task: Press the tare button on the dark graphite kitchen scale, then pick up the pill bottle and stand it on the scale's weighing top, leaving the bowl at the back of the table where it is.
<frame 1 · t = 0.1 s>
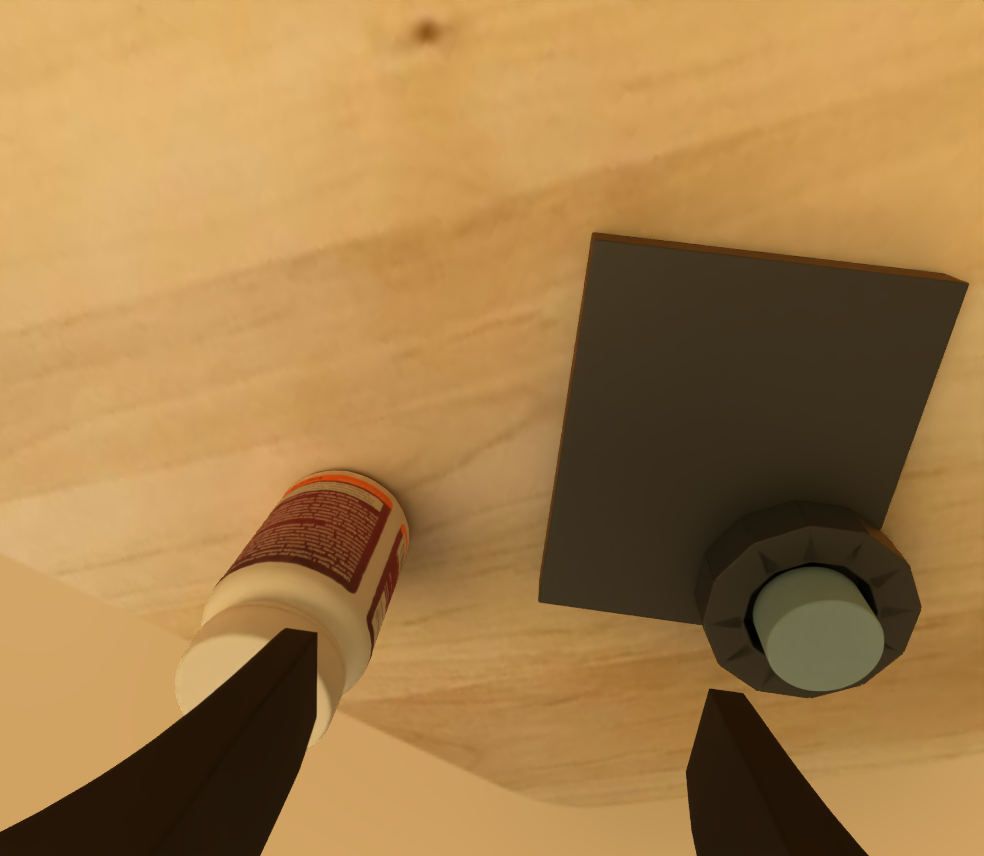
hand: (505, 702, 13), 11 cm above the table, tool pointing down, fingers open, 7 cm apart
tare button: (815, 628, 21), point 4 cm above the table, slide at 0.1 cm
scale: (719, 443, 23), on the table
pill bottle: (346, 524, 26), on the table
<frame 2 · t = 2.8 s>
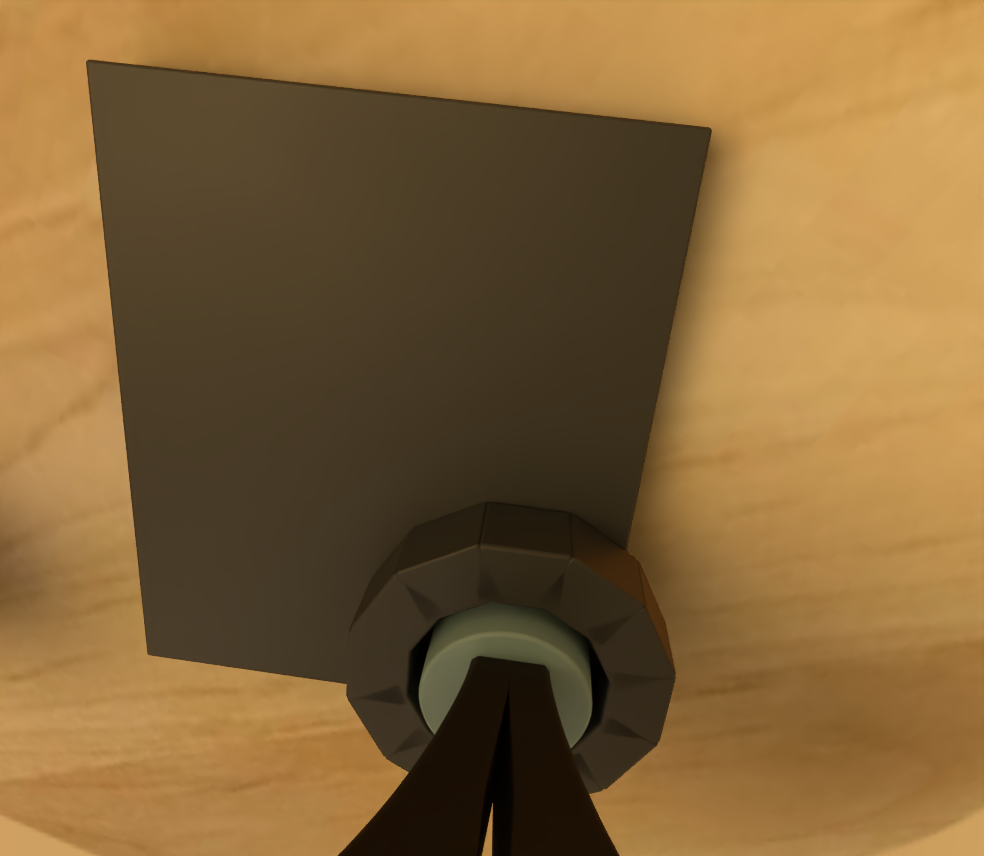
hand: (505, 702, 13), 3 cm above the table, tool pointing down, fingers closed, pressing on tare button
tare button: (507, 671, 14), point 3 cm above the table, slide at -0.8 cm, touching gripper
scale: (393, 413, 15), on the table
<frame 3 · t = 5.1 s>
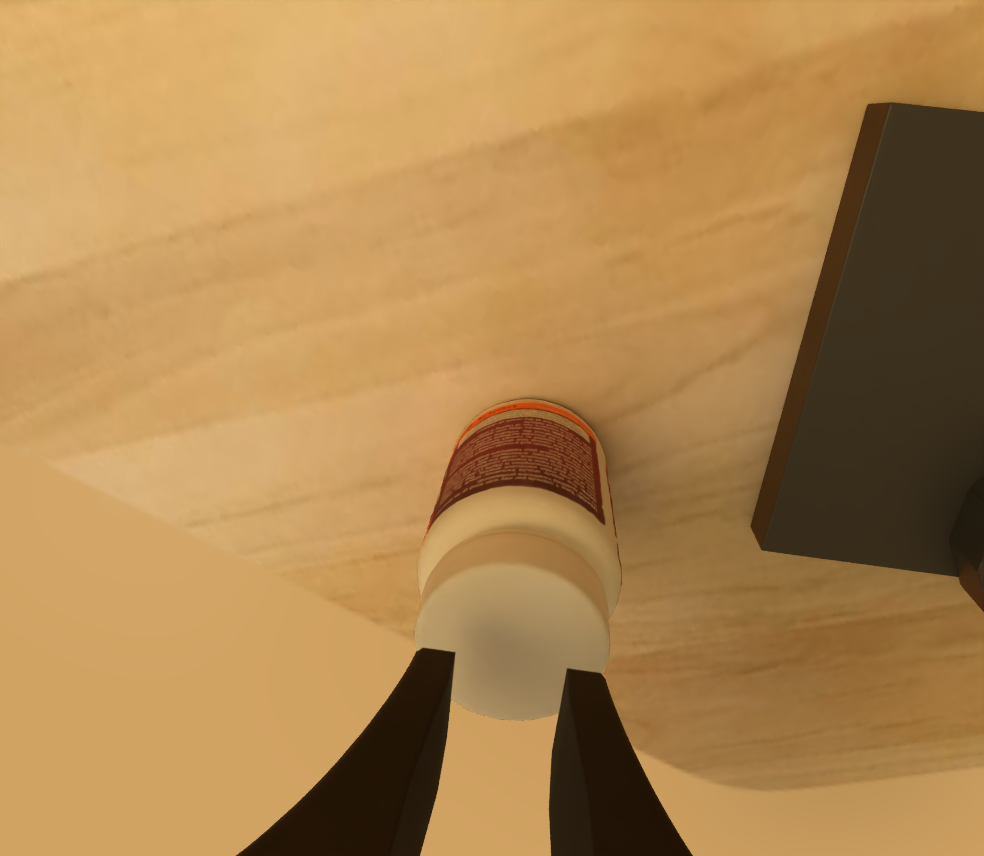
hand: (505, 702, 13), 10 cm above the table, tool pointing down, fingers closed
pill bottle: (528, 465, 23), on the table
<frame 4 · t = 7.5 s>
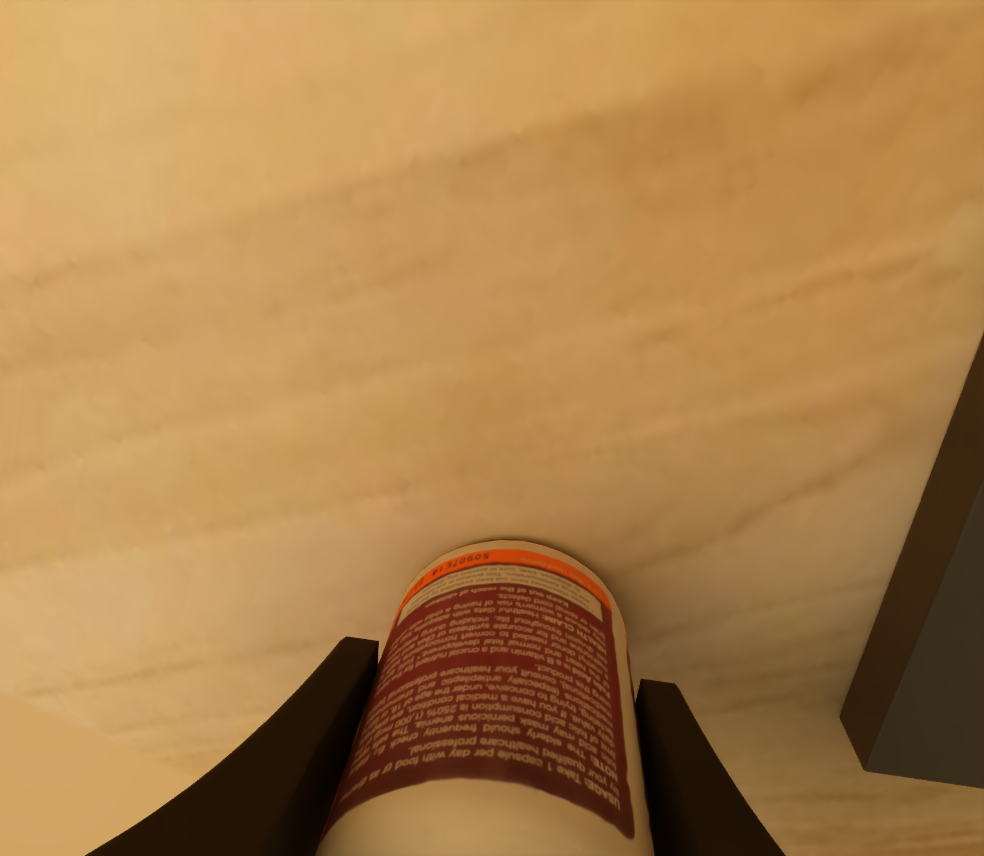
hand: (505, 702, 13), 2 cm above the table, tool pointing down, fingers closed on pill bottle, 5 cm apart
pill bottle: (510, 626, 15), on the table, touching gripper
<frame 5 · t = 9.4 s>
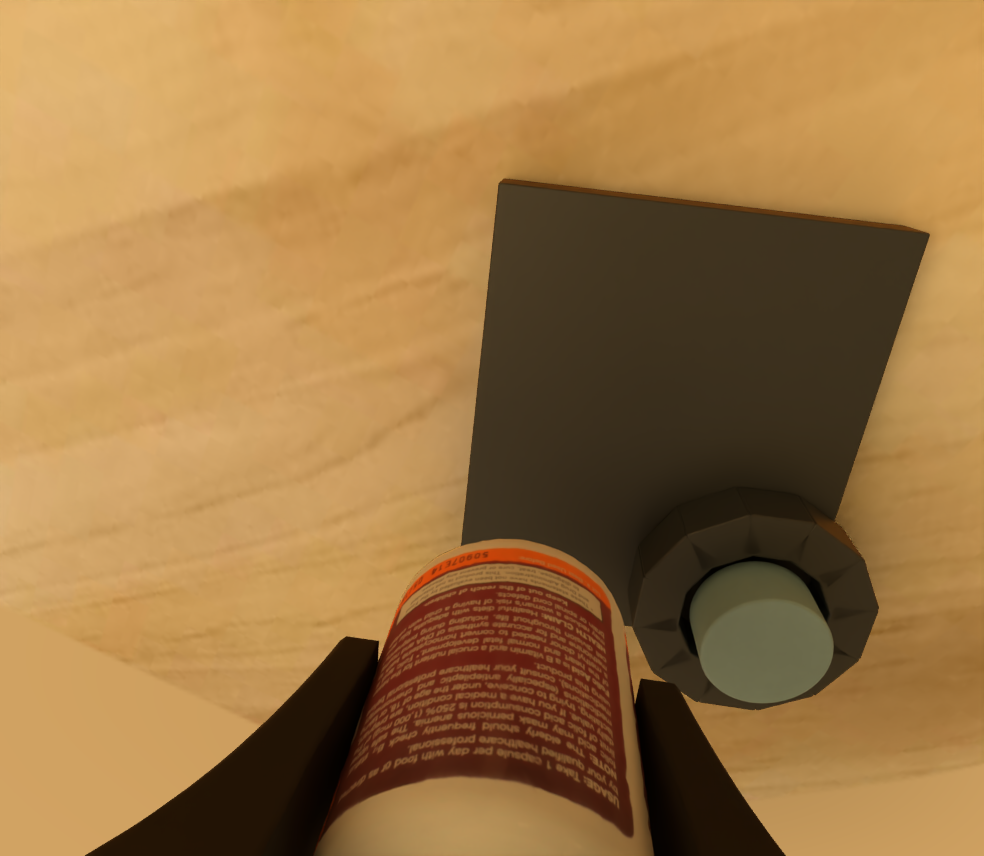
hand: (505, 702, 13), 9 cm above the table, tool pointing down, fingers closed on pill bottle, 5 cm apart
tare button: (757, 631, 19), point 4 cm above the table, slide at 0.1 cm
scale: (655, 422, 21), on the table
pill bottle: (510, 624, 15), point 7 cm above the table, touching gripper
when the fingers open (5 cm above the table, at t = 11.3 s): pill bottle stays where it is, resting on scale.
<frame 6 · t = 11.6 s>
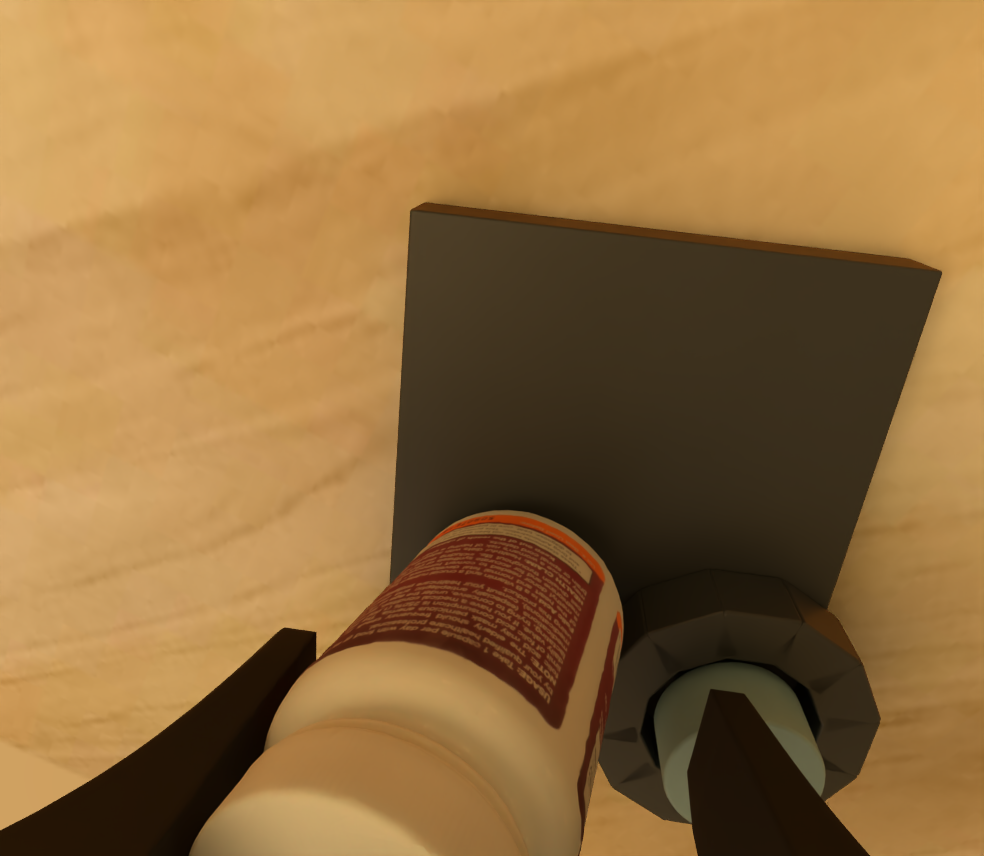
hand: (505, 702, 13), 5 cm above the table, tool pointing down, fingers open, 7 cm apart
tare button: (734, 748, 16), point 4 cm above the table, slide at 0.1 cm
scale: (614, 487, 17), on the table
pill bottle: (518, 604, 16), point 2 cm above the table, touching gripper, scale
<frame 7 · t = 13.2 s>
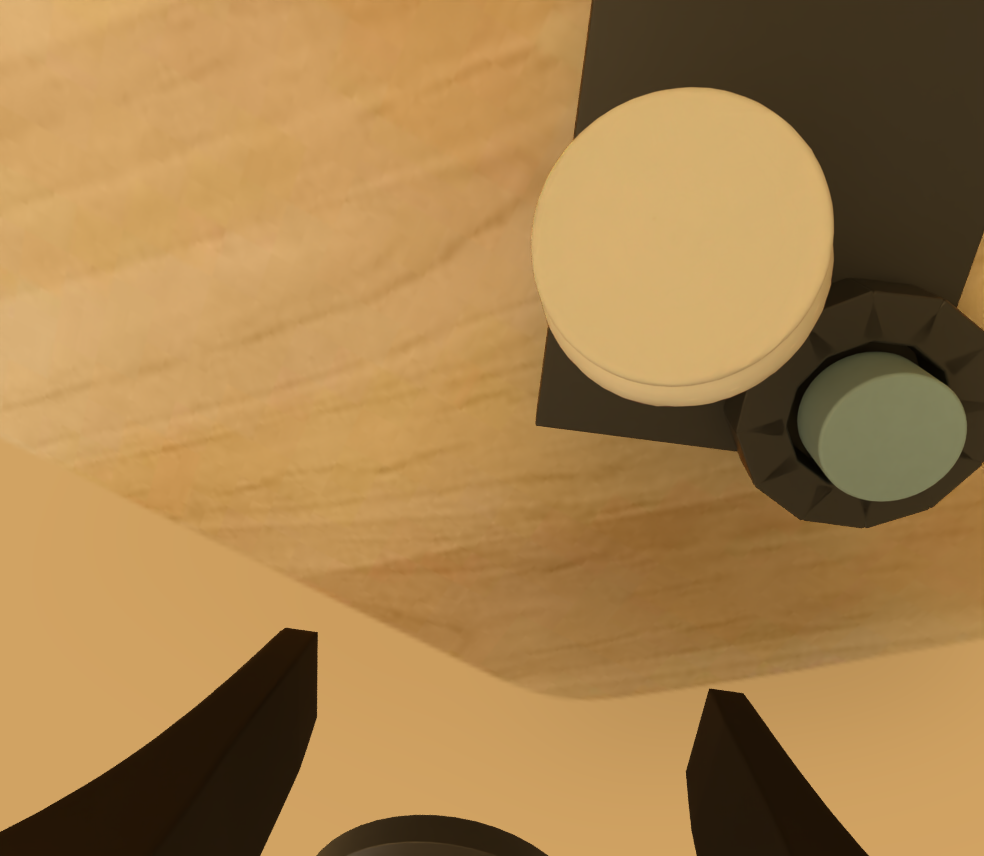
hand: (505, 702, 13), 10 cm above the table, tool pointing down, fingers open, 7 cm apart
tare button: (877, 425, 17), point 4 cm above the table, slide at 0.1 cm
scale: (755, 220, 19), on the table
pill bottle: (681, 304, 18), point 2 cm above the table, touching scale
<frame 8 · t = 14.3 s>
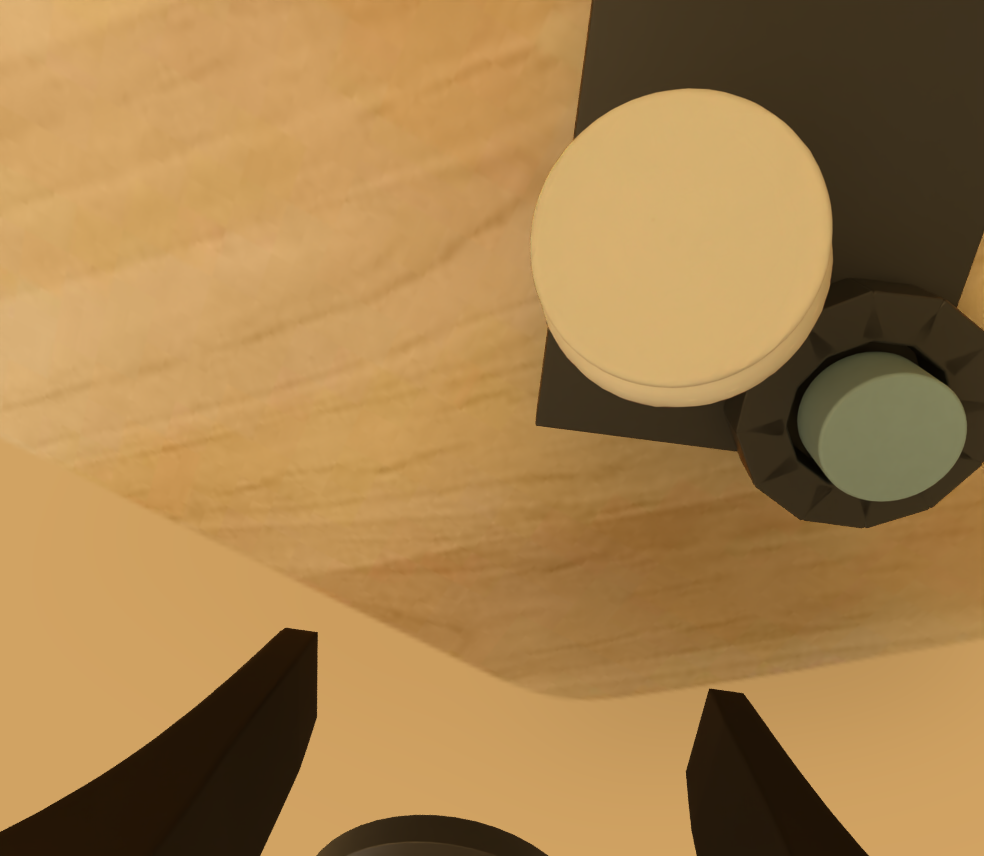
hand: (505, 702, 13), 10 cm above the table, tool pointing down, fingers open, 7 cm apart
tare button: (877, 425, 17), point 4 cm above the table, slide at 0.1 cm
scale: (755, 220, 19), on the table
pill bottle: (681, 304, 18), point 2 cm above the table, touching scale
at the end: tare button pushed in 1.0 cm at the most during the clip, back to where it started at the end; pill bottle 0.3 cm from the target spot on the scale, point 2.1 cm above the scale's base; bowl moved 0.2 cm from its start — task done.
